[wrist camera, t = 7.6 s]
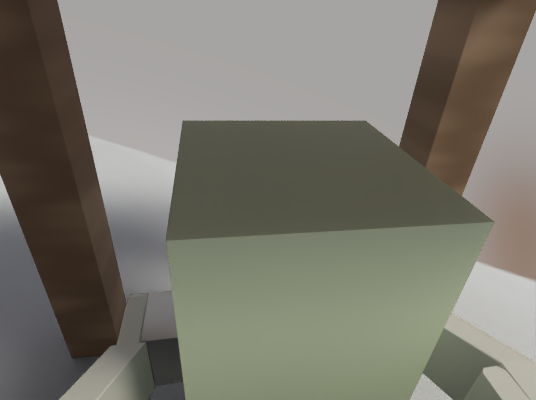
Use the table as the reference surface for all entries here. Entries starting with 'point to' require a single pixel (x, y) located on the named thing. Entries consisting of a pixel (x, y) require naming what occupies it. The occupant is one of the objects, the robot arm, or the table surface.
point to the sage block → (311, 261)
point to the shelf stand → (84, 172)
